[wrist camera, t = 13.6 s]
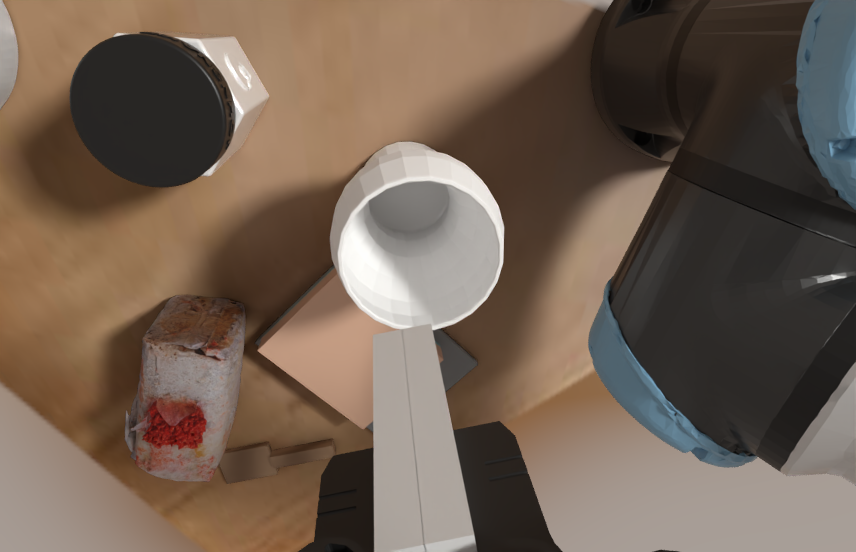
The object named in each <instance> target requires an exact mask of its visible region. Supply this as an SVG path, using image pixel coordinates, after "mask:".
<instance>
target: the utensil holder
mask: <svg viewBox="0 0 856 552" xmlns="http://www.w3.org/2000/svg"><path fill="white" fill-rule="evenodd" d="M17 70H18V46H17V39H16V35H15V31H14V28H13V24H12V21H11V19H10V16H9V14H8V11H7V9H6V7H5V5H4V3H3V1H2V0H0V109H1V108H2V106H3V105H4V104H5V102H6V101H7V100H8V98H9V96H10V94H11V92H12V90H13V87H14V84H15V81H16V76H17Z"/></svg>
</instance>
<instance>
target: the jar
mask: <svg viewBox="0 0 856 552" xmlns="http://www.w3.org/2000/svg"><path fill="white" fill-rule="evenodd" d="M268 98H269V94H268V93H267V91H266V89H265V88H264V86H263V84H262V82H261V81H260V79H259V77H258V76H257V74H256V72H255V70H254V69H253V67H252V65H251V64H250V62H249V60H248V58H247V57H246V55H245V53H244V52H243V50H242V48H241V46H240V45H239V43H238V41H237V40H236V38H235V37H233V36H223V35H209V34H196V33H182V32H135V33H116V34H115V35H114V36H113V37H112V38H109V39H107V40H105V41H103V42H101V43H99V44H98V45H96V46H95V47H93V48H92V49H91V50H90V51H89V52H88V53H87V54H86V55H85V56H84V57H83V58H82V60H81V61H80V62H79V64H78V66H77V68H76V70H75V72H74V75H73V78H72V81H71V87H70V109H71V114H72V118H73V122H74V125H75V127H76V130H77V132H78V134H79V136H80V138H81V139H82V141H83V143H84V144H85V146H86V147H87V149H88V150H89V151H90V152H91V154H92V155H93V156H94V157H95V158H96V159H97V160H98V161H99V162H100V163H101V164H102V165H104V166H105V167H106V168H107V169H109V170H110V171H112V172H113V173H115V174H116V175H118V176H120V177H122V178H124V179H126V180H128V181H131V182H134V183H137V184H140V185H144V186H150V187H174V186H179V185H183V184H186V183H188V182H191V181H193V180H195V179H197V178H198V177H200V176H211V175H212V174H213V173H214V172H215V171H216V170H217V169H219V168H220V167H221V166H222V165H223V164H224V163H225V162H226V161H227V160H228V159H229V158H230V157H231V156H233V155H234V154H235V153H236V152H237V151H238V150H239V149H240V148H241V147H242V146H243V144H244V142H245V140H246V138H247V137H248V135H249V133H250V131H251V129H252V127H253V126H254V124H255V122H256V120H257V118H258V117H259V115H260V113H261V111H262V109H263V108H264V106H265V104H266V102H267V100H268Z"/></svg>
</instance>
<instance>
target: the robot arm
mask: <svg viewBox="0 0 856 552" xmlns="http://www.w3.org/2000/svg"><path fill="white" fill-rule="evenodd" d="M591 83H592V90H593V95H594V99H595V102H596V106H597V108H598V111H599V113H600V115H601V117H602V119H603V120H604V122H605V124H606V125H607V127H608V128H609V129H610V130H611V132H612V133H613V134H614V135H615V136H616V137H617V138H618V139H619V140H621V141H622V142H623V143H624V144H626V145H627V146H629V147H631V148H632V149H634V150H636V151H639V152H641V153H643V154H645V155H647V156H650V157H652V158H655V159H659V160H663V161H669V162H672V164H671V166H670V168H669V169H668V170H667V172H666V174H665V176H664V178H663V180H662V182H661V184H660V186H659V188H658V190H657V192H656V194H655V196H654V198H653V200H652V202H651V204H650V206H649V208H648V210H647V212H646V214H645V216H644V218H643V220H642V222H641V224H640V226H639V228H638V230H637V232H636V234H635V236H634V238H633V240H632V242H631V244H630V245H629V247H628V249H627V251H626V253H625V255H624V257H623V259H622V261H621V263H620V265H619V267H618V269H617V270H616V272H615V274H614V276H613V277H612V278H611V279H610V280H609V281H608V283H607V284H606V286H605V289H604V295H603V301H602V304H601V306H600V308H599V310H598V313H597V315H596V317H595V319H594V322H593V324H592V326H591V329H590V333H589V339H588V346H589V351H590V354H591V357H592V359H593V365H594V368H595V370H596V372H597V374H598V376H599V377H600V379H601V381H602V382H603V384H604V385H605V387H606V388H607V389H608V391H609V392H610V393H611V395H612V396H613V397H614V398H615V399H616V400H617V402H618V403H619V404H620V405H621V406H622V407H623V408H624V409H625V410H626V411H627V412H628V413H629V414H630V415H631V416H633V417H634V418H635V419H636V420H637V421H638V422H639V423H640V424H642V425H643V426H644V427H645V428H646V429H648V430H649V431H650V432H651V433H653V434H654V435H656V436H657V437H658V438H660V439H661V440H662V441H664V442H666V443H667V444H669V445H670V446H672V447H674V448H676V449H678V450H679V451H681V452H683V453H686V452H689V451H691V452H692V453H693V454H694V455H695V456H696V457H697V458H698V459H699V460H700V461H702V462H705V463H708V464H711V465H714V466H718V467H739V466H742V465H744V464H745V463H748V462H751V461H753V460H755V459H756V458H757V457H759V458H761V459H762V460H764V461H765V462H767V463H768V464H770V465H771V466H772V467H774V468H775V469H777V470H778V471H780V472H782V473H783V474H785V475H786V476H796V475H813V474H832V475H837V476H842V477H843V478H845V479H846V480H848V481H849V482H851V483H852V484H854V485H856V0H613V2H612V3H611V5H610V6H609V8H608V10H607V12H606V14H605V16H604V18H603V20H602V22H601V25H600V27H599V30H598V33H597V36H596V39H595V43H594V47H593V52H592V60H591ZM373 440H374V448H370V449H365V450H360V451H355V452H350V453H345V454H340V455H334V456H333V457H332V459H331V460H330V462H329V464H328V465H327V467H326V469H325V470H324V472H323V474H322V475H321V484H320V493H319V499H320V500H319V502H318V511H317V515H318V518H317V520H316V529H315V538H314V542H312V543H310V544H308V545H307V546H305V547H304V548H303V549H301V550H300V551H298V552H562V551H561V550H560V548H559V547H558V546H557V545H556V544H555V543H554V541H553V539H552V537H551V535H550V533H549V531H548V528H547V525H546V522H545V519H544V516H543V514H542V511H541V508H540V505H539V502H538V499H537V496H536V494H535V491H534V488H533V485H532V482H531V479H530V477H529V474H528V472H527V468H526V465H525V462H524V460H523V458H522V455H521V451H520V448H519V445H518V443H517V440H516V437H515V435H514V434H513V433H511V431H510V430H508V429H507V428H506V427H505V426H504V425H503V424H502V423H501V422H500V421H498V422H493V423H488V424H483V425H478V426H473V427H467V428H462V429H457V430H453V428H452V423H451V418H450V413H449V408H448V404H447V399H446V394H445V389H444V384H443V379H442V374H441V369H440V364H439V359H438V354H437V350H436V345H435V340H434V335H433V330H432V325H431V324H426V325H421V326H416V327H411V328H405V329H400V330H395V331H390V332H385V333H380V334H375V335H373ZM654 552H678V551H667V550H658V551H654Z"/></svg>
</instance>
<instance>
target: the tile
mask: <svg viewBox="0 0 856 552" xmlns="http://www.w3.org/2000/svg"><path fill="white" fill-rule="evenodd" d="M395 330H400V329H395V328H392V327H390V326H387V325H385V324H383V323H380V322H378V321H375V320H374V319H373V318H371V317H370V316H369V315H367V314H366V313H365V312H363V311H362V310H361V309H359V308H358V306H357V305H356V304H355V302H354V301H353V300H352V299H351V297H350V296H349V295H348V293H347V292H346V290H345V288H344V286H343V284H342V282H341V280H340V278H339V275H338V273H337V270H336V268H335V267H334V268H333V269H331V270H330V271H329V272H328V273H327V274H326V275H325V276H324V277H323V278H322V279H321V280H320V281H319V282H318V283H317V284H316V285H315V286H314V287H313V288H312V289H311V290H310V291H309V292H308V293H307V294H306V295H305V296H304V297H303V298H302V299H300V300H299V301H298V302H297V303H296V304H295V305H294V306H293V307H292V308H291V309H290V310H289V311H288V312H287V313H286V314H285V315H284V316H283V317H282V318H281V319H280V320H279V321H278V322H277V323H276V324H275V325H274V326H273V327H272V328H271V329H270V330H268V331H267V332H266V333H265V334H264V335H263V336H262V339H261V342H260V345H259V347H258V350H257V351H258V352H260V353H261V354H262V355H264V356H265V357H266V358H268V359H269V360H270V361H272V362H273V363H274V364H276V365H277V366H278V367H280V368H281V369H282V370H284V371H285V372H286V373H288V374H289V375H290V376H292V377H293V378H294V379H296V380H297V381H298V382H300V383H301V384H302V385H304V386H305V387H306V388H308V389H309V390H310V391H312V392H313V393H314V394H316V395H317V396H318V397H320V398H321V399H322V400H324V401H325V402H326V403H328V404H329V405H330V406H332V407H333V408H334V409H336V410H337V411H338V412H340V413H341V414H342V415H344V416H345V417H346V418H348V419H349V420H350V421H352V422H353V423H354V424H356V425H357V426H359V427H360V428H361V429H364V428H366V427H367V426H368V425H369V424H370V423H371V422H372V421H373V335H375V334H380V333H385V332H390V331H395ZM435 345H436V350H437V354H438V359H439V364H440V363H441V362H442V361H443V355H442V350H441V346H440V345H439V344H438V343H437V342H436V341H435Z"/></svg>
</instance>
